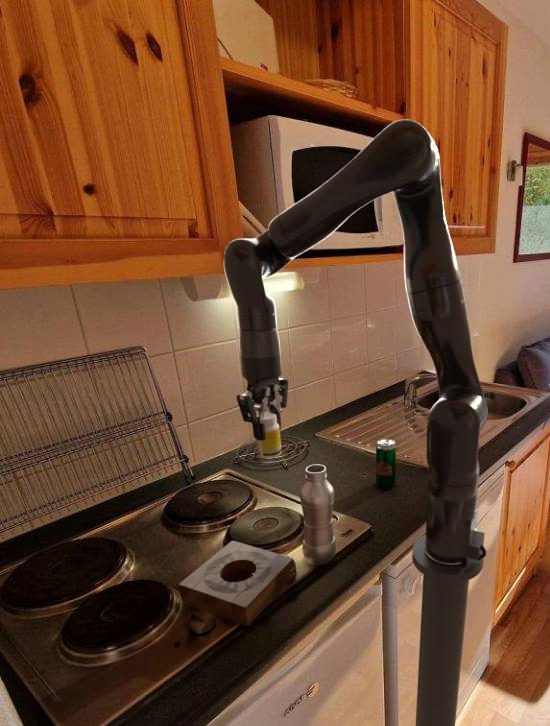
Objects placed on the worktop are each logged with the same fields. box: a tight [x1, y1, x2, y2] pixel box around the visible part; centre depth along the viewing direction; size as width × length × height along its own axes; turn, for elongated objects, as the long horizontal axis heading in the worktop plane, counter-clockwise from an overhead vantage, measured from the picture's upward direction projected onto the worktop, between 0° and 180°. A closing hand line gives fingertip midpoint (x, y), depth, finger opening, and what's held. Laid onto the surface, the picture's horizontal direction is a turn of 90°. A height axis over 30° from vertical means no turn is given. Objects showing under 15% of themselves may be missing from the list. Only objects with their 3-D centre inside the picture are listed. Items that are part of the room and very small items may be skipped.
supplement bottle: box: [256, 412, 283, 459], centre depth 97 cm, size 5×5×8 cm
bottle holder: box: [178, 540, 295, 627], centre depth 86 cm, size 14×14×4 cm
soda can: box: [375, 438, 397, 490], centre depth 121 cm, size 5×5×12 cm
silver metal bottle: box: [299, 463, 337, 566], centre depth 91 cm, size 6×7×20 cm
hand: (268, 434), depth 97 cm, fingers closed on supplement bottle, 4 cm apart
